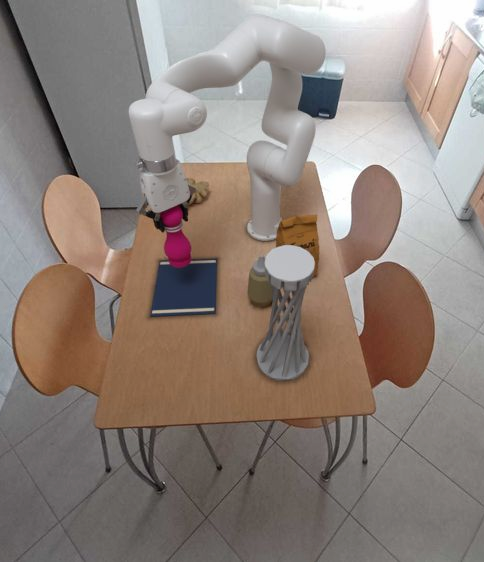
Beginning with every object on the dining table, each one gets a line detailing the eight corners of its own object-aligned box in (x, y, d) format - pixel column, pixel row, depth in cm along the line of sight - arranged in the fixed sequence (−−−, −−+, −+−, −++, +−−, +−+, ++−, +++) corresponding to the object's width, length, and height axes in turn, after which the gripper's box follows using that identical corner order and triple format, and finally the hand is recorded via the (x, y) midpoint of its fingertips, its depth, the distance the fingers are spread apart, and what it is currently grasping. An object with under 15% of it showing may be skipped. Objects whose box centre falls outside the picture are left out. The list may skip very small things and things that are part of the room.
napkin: (217, 259, 125) (217, 258, 124) (215, 314, 110) (215, 313, 110) (159, 261, 123) (159, 260, 123) (150, 317, 109) (150, 316, 108)
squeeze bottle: (279, 293, 116) (281, 249, 102) (269, 314, 111) (271, 270, 97) (253, 286, 117) (252, 242, 104) (243, 306, 112) (241, 262, 99)
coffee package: (319, 281, 120) (328, 225, 103) (280, 287, 117) (283, 231, 101) (310, 258, 126) (317, 203, 110) (272, 264, 124) (274, 208, 107)
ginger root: (196, 177, 152) (195, 162, 145) (216, 205, 147) (216, 191, 140) (159, 191, 147) (156, 176, 140) (178, 221, 141) (176, 206, 134)
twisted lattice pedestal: (306, 335, 106) (321, 239, 80) (310, 380, 97) (328, 288, 71) (256, 335, 106) (255, 238, 80) (256, 381, 97) (253, 288, 71)
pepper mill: (191, 269, 106) (179, 210, 91) (164, 268, 106) (148, 209, 91) (195, 251, 111) (185, 192, 96) (170, 250, 111) (155, 191, 96)
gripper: (130, 181, 80) (148, 246, 93) (201, 154, 88) (209, 217, 101) (113, 166, 84) (134, 230, 97) (183, 141, 91) (193, 204, 105)
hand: (172, 223), depth 99 cm, fingers closed on pepper mill, 6 cm apart
